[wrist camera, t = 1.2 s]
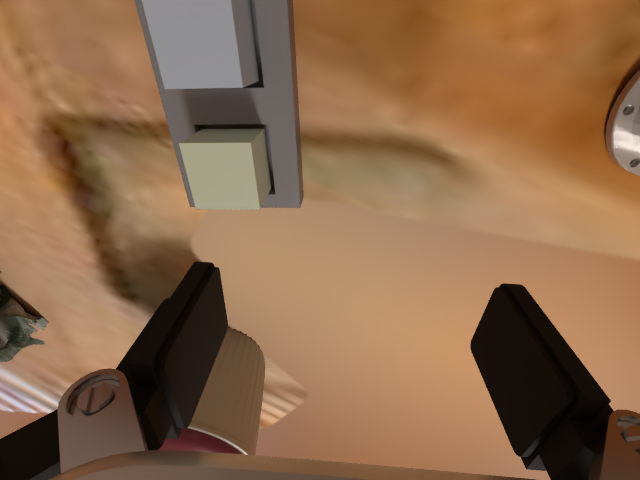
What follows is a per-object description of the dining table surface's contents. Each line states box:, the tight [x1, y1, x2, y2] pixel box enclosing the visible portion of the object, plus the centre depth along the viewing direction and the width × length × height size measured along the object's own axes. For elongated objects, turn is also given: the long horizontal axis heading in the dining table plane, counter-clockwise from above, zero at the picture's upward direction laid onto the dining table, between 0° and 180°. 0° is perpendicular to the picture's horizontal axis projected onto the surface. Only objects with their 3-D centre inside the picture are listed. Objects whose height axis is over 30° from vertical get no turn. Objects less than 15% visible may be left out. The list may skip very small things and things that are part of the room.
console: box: [135, 0, 304, 208], centre depth 26 cm, size 12×30×4 cm, turn 1°
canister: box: [158, 327, 265, 455], centre depth 42 cm, size 18×18×21 cm
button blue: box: [142, 0, 259, 89], centre depth 24 cm, size 6×6×5 cm
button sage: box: [179, 128, 271, 210], centre depth 29 cm, size 6×6×5 cm
